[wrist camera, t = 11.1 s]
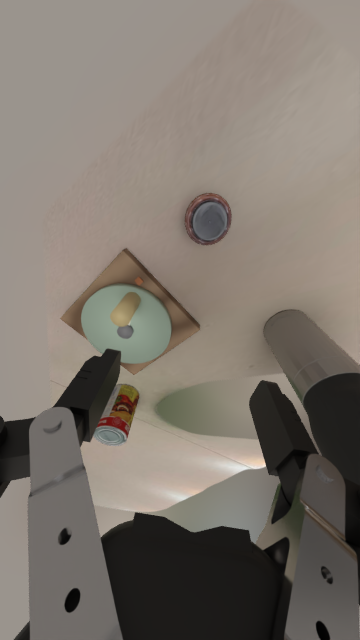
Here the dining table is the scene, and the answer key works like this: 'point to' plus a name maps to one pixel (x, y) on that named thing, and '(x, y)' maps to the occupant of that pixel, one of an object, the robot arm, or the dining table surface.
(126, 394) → the canned food
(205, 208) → the supplement bottle
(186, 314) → the base board
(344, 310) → the dining table surface
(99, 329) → the dial
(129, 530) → the robot arm
